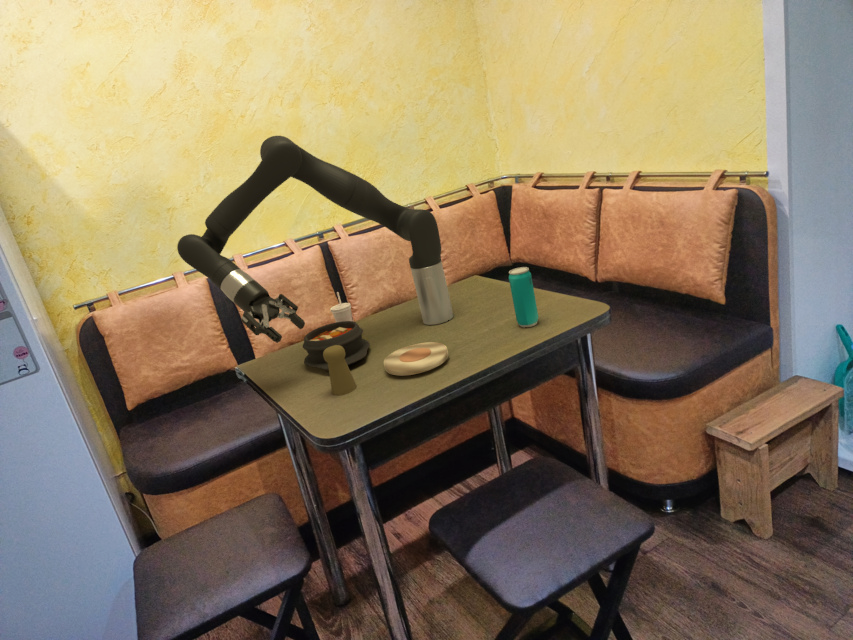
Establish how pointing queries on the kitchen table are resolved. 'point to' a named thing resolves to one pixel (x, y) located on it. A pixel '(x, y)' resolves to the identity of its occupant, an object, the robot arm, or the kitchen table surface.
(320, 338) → the casserole
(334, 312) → the smoothie
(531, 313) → the beverage can
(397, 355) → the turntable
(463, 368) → the kitchen table surface
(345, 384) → the brown pepper shaker
